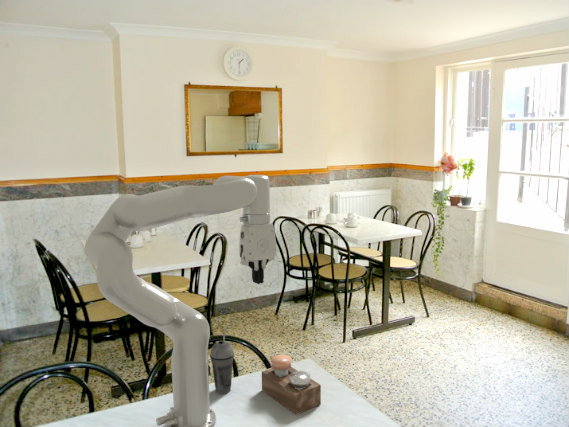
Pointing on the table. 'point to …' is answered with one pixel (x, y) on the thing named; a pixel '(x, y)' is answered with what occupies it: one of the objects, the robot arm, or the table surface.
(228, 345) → the beverage cup
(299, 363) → the table surface
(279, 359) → the peach domed piece
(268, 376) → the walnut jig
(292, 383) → the steel plug
